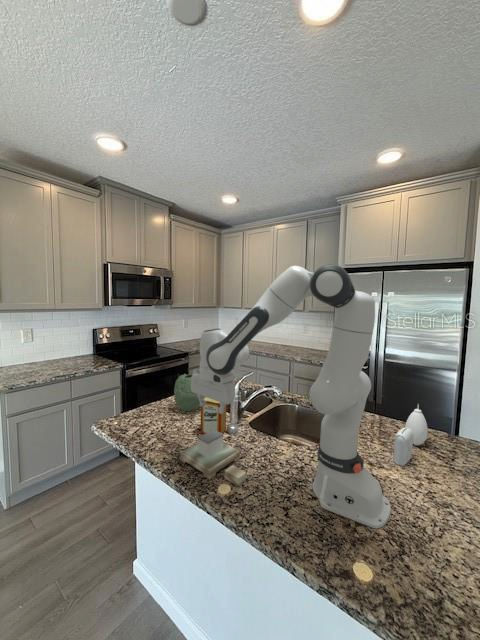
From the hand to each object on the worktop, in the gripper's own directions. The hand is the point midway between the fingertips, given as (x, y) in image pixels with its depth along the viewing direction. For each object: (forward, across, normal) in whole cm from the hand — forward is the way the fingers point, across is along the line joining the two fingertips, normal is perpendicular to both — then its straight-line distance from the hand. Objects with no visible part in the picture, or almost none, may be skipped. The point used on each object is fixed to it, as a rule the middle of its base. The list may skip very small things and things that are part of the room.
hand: (211, 409), depth 100 cm
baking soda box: (+20, -14, +15) cm, 28 cm away
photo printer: (+20, +55, +50) cm, 77 cm away
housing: (+16, 0, 0) cm, 16 cm away
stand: (+20, 0, 0) cm, 20 cm away
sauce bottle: (+20, +57, +67) cm, 90 cm away
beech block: (+20, +14, -2) cm, 24 cm away
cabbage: (+19, -40, +23) cm, 50 cm away
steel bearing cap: (+20, -8, +21) cm, 30 cm away
